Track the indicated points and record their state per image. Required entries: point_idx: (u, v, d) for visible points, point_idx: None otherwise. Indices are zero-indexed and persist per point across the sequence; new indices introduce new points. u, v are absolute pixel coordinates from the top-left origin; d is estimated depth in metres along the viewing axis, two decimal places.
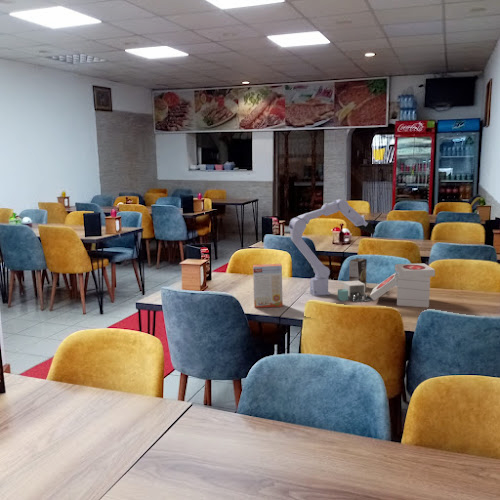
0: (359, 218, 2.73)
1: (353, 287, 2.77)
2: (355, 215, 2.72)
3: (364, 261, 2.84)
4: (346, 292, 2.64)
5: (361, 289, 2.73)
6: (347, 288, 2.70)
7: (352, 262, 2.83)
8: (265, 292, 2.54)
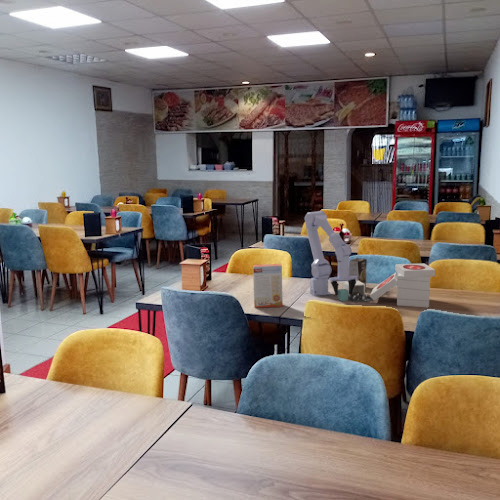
0: (338, 274, 2.62)
1: None
2: (338, 269, 2.62)
3: (364, 261, 2.84)
4: (346, 292, 2.64)
5: (361, 289, 2.73)
6: (347, 288, 2.70)
7: (352, 262, 2.83)
8: (265, 292, 2.54)
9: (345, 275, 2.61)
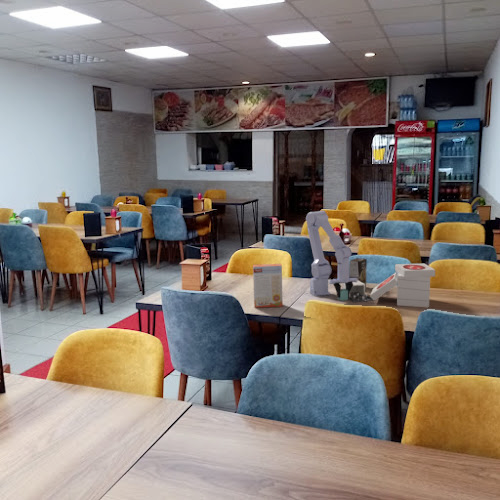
0: (338, 276, 2.63)
1: (353, 287, 2.77)
2: (338, 271, 2.62)
3: (364, 261, 2.84)
4: (346, 292, 2.64)
5: (361, 289, 2.73)
6: None
7: (352, 262, 2.83)
8: (265, 292, 2.54)
9: (345, 277, 2.61)
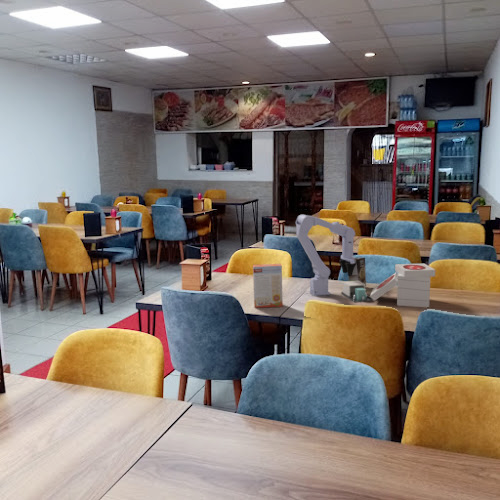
0: (350, 255, 2.76)
1: (353, 287, 2.77)
2: (350, 249, 2.75)
3: (362, 259, 2.86)
4: (364, 291, 2.63)
5: None
6: (347, 288, 2.70)
7: None
8: (265, 292, 2.54)
9: None
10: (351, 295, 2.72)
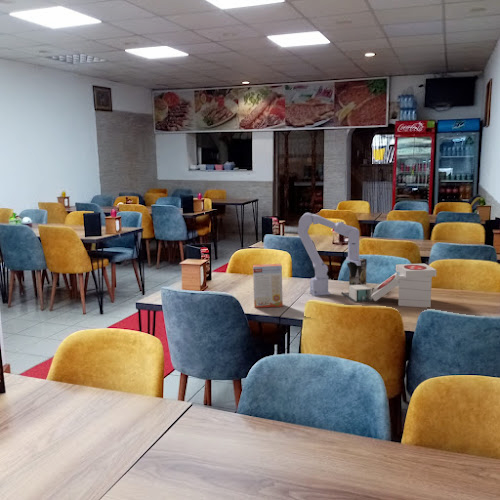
0: (356, 256, 2.69)
1: None
2: (356, 251, 2.68)
3: (364, 261, 2.84)
4: (364, 291, 2.63)
5: (368, 293, 2.65)
6: (354, 292, 2.62)
7: None
8: (265, 292, 2.54)
9: None
10: None
